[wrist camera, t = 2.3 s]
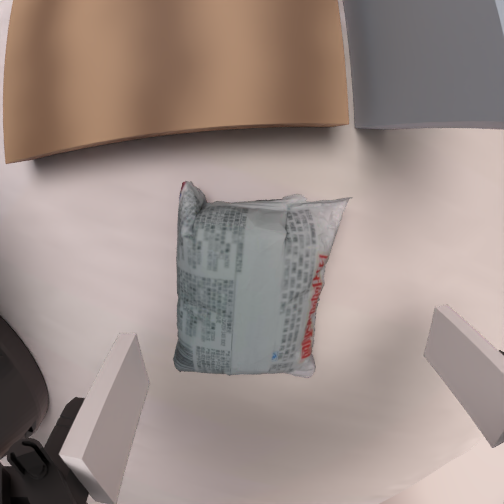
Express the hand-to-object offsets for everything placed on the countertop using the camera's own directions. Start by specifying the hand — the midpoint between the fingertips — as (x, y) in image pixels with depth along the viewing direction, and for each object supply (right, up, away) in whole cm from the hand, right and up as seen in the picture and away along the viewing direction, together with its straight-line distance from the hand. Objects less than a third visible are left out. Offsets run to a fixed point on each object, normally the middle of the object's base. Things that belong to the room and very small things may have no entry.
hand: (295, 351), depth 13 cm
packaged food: (-2, +2, +7) cm, 8 cm away
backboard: (+5, +19, +2) cm, 20 cm away
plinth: (-7, +18, +1) cm, 19 cm away
